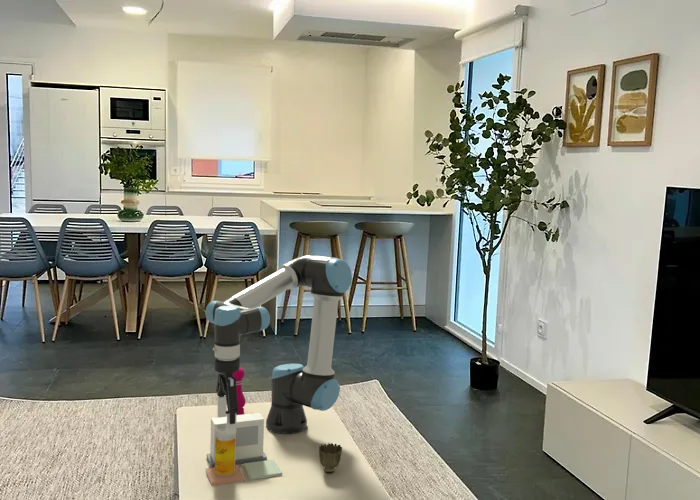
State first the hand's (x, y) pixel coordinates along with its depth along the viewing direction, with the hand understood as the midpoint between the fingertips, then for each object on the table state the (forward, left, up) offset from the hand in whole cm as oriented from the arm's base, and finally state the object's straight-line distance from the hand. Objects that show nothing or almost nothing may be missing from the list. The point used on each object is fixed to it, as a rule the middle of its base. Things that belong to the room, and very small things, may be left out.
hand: (226, 424), depth 201 cm
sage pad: (-12, 0, -16) cm, 20 cm away
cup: (-32, +7, -16) cm, 36 cm away
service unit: (-6, -10, -16) cm, 20 cm away
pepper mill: (-15, -51, -16) cm, 55 cm away
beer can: (0, 0, -16) cm, 16 cm away
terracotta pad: (0, 0, -16) cm, 16 cm away
